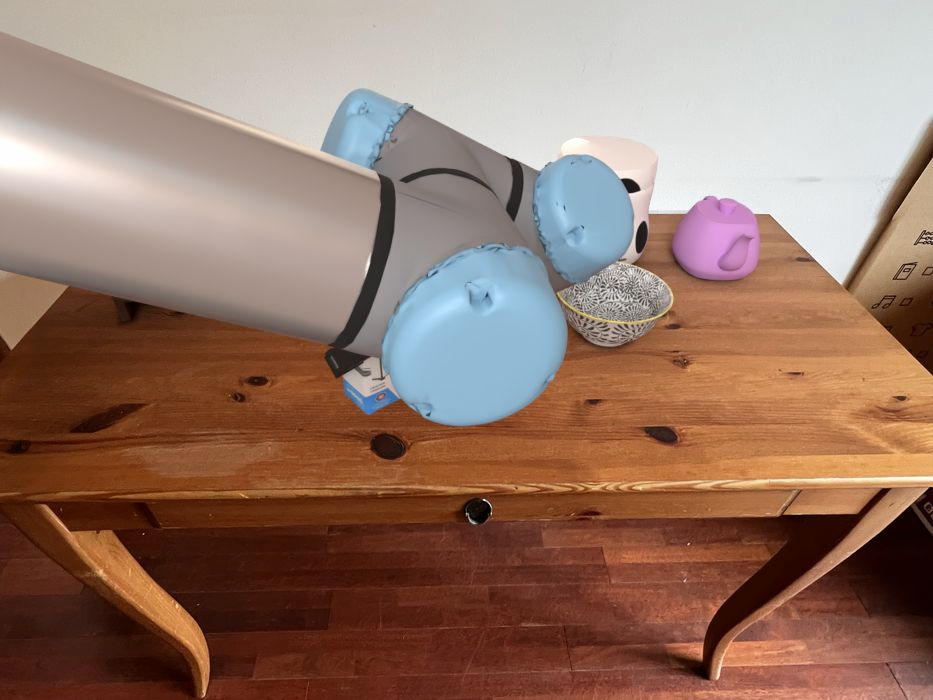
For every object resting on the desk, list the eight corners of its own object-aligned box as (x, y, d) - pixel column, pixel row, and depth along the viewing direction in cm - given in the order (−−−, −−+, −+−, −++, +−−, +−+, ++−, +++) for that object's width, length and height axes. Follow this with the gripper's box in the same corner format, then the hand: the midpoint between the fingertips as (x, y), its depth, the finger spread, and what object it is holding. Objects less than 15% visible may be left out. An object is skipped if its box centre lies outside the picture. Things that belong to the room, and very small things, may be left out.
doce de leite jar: (552, 282, 98) (566, 175, 86) (533, 232, 111) (543, 133, 100) (656, 279, 99) (683, 173, 88) (625, 229, 113) (644, 132, 101)
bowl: (565, 292, 95) (571, 250, 91) (668, 316, 91) (680, 273, 86) (535, 349, 84) (540, 304, 79) (651, 380, 79) (664, 334, 74)
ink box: (366, 417, 65) (357, 329, 58) (343, 393, 68) (331, 306, 61) (430, 384, 70) (429, 299, 62) (405, 363, 73) (401, 279, 65)
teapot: (657, 240, 110) (671, 177, 102) (730, 241, 110) (750, 179, 103) (689, 301, 94) (709, 233, 87) (774, 303, 94) (801, 234, 87)
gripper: (391, 382, 44) (301, 423, 63) (573, 278, 56) (452, 339, 75) (341, 290, 43) (265, 359, 62) (535, 206, 56) (423, 285, 74)
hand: (367, 348), depth 68 cm, fingers closed on ink box, 9 cm apart
